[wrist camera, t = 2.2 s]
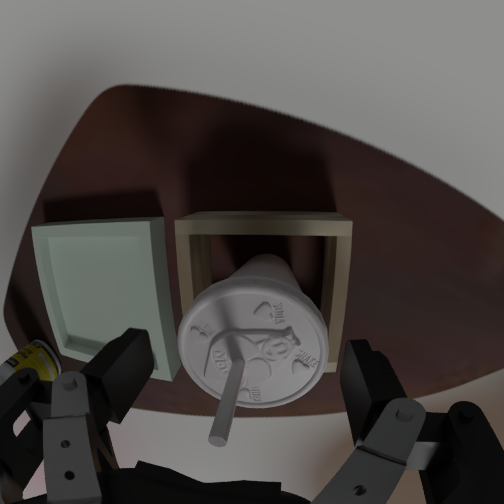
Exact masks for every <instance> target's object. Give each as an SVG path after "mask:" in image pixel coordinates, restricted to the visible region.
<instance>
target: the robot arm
mask: <svg viewBox="0 0 504 504" xmlns="http://www.w3.org/2000/svg"><path fill="white" fill-rule="evenodd" d="M153 370H154V357H153V352H152V347H151V342H150V337H149V333H148V331H147V330H146V329H139V328H132V327H130V328H128V329H127V330H126V331H125V332H124V333H123V334H122V335H121V336H120V337H117V338H115V339H113V340H111V341H109V342H108V343H107V344H106V345H105V346H104V347H103V348H102V350H100V351H99V352H98V353H97V355H95V356H94V357H93V358H92V359H91V360H90V361H89V362H88V363H87V364H86V366H85V367H84V368H83V369H82V370H81V371H80V372H75V371H70V372H65V373H62V374H60V375H59V376H57V377H56V378H55V379H54V381H46V380H41V379H40V377H39V375H38V372H37V371H36V370H35V369H33V368H22V369H19V370H17V371H16V372H14V373H13V374H12V375H11V376H10V377H9V378H8V379H7V380H6V381H5V382H4V383H3V384H2V385H1V386H0V504H386V503H387V501H388V499H389V498H390V496H391V494H392V493H393V491H394V489H395V487H396V486H397V484H398V482H399V480H400V478H401V476H402V474H403V472H404V470H405V469H406V470H418V471H419V474H420V478H421V482H422V486H423V490H424V495H425V499H426V504H504V450H503V448H502V446H501V444H500V442H499V440H498V439H497V437H496V435H495V433H494V431H493V429H492V427H491V426H490V424H489V422H488V420H487V419H486V417H485V415H484V413H483V412H482V410H481V409H480V408H479V407H478V406H477V405H476V404H474V403H472V402H468V401H460V402H457V403H454V404H453V405H452V406H451V407H450V409H449V411H448V413H431V412H426V411H425V409H424V407H423V406H422V405H421V404H420V403H419V402H417V401H415V400H413V399H410V398H407V396H406V394H405V392H404V390H403V387H402V385H401V383H400V381H399V380H398V378H397V376H396V375H395V372H394V370H393V368H392V366H391V364H390V362H389V360H388V358H387V357H386V356H384V355H383V354H382V353H381V352H379V351H372V349H371V347H370V345H369V343H368V341H367V340H366V339H361V340H348V341H347V343H346V347H345V353H344V358H343V363H342V368H341V374H340V384H341V389H342V393H343V397H344V402H345V406H346V410H347V415H348V419H349V423H350V428H351V433H352V438H353V441H354V447H357V448H356V449H355V450H354V451H353V453H352V454H351V455H350V457H349V458H348V459H347V461H346V462H345V463H344V465H343V466H342V467H341V468H340V470H339V471H338V472H337V473H336V475H335V476H334V477H333V478H332V479H331V481H330V482H329V483H328V484H327V485H326V486H325V488H324V489H323V490H322V491H321V492H320V493H319V494H318V496H317V497H316V498H315V499H314V500H313V501H312V502H310V501H309V500H307V499H305V498H303V497H300V496H298V495H295V494H292V493H289V492H285V491H281V482H263V481H247V480H241V481H230V482H215V483H203V482H200V481H197V480H195V479H192V478H190V477H188V476H185V475H183V474H181V473H179V472H176V471H174V470H172V469H170V468H165V467H161V466H157V465H153V464H150V463H146V462H143V461H138V462H137V464H136V466H135V468H121V469H120V468H119V466H118V463H117V461H116V457H115V453H114V450H113V446H112V442H111V438H110V435H109V430H108V428H107V426H106V424H107V423H108V422H109V421H112V422H114V423H118V424H120V423H121V422H122V420H123V418H124V417H125V415H126V414H127V412H128V411H129V409H130V408H131V406H132V404H133V403H134V401H135V400H136V398H137V397H138V395H139V393H140V392H141V390H142V389H143V387H144V386H145V384H146V382H147V381H148V379H149V378H150V376H151V375H152V373H153ZM24 410H26V412H27V414H28V415H29V417H30V419H31V420H30V421H29V422H28V423H27V425H26V426H25V427H24V429H23V430H22V431H21V432H20V433H19V435H18V436H17V437H16V435H15V434H14V432H13V424H14V422H15V421H16V420H17V418H18V417H19V416H20V415H21V414H22V412H23V411H24ZM43 459H44V469H45V470H44V471H45V481H46V489H47V493H46V494H43V495H39V496H36V497H32V498H29V499H25V500H24V499H23V498H22V497H23V491H24V489H25V487H26V486H27V484H28V483H29V481H30V479H31V478H32V476H33V475H34V473H35V471H36V470H37V468H38V467H39V465H40V464H41V462H42V460H43Z"/></svg>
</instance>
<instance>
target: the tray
mask: <svg viewBox="0 0 504 504" xmlns="http://www.w3.org/2000/svg"><path fill="white" fill-rule="evenodd" d="M31 228H32V236H33V244H34V251H35V257H36V263H37V268H38V273H39V278H40V283H41V288H42V292H43V296H44V300H45V304H46V308H47V312H48V315H49V319H50V322H51V326H52V329H53V332H54V336H55V339H56V342H57V345H58V348H59V350H60V353H61V354H62V355H65V356H68V357H71V358H75V359H78V360H81V361H85V362H89V361H90V360H91V359H92V358H93V357H94V356H95V355H97V353H98V352H99V351H100V350H102V348H103V347H104V346H105V345H106V344H107V343H108V342H109V341H111V340H113V339H115V338H117V337H120V336H121V335H122V334H123V333H124V332H125V331H126V330H127V329H128V328H130V327H132V328H139V329H146V330H147V331H148V333H149V337H150V342H151V347H152V352H153V357H154V370H153V373H152V375H151V376H150V377H151V378H156V379H161V380H167V381H172V380H173V379H174V377H175V375H176V373H177V371H178V370H179V368H180V366H181V363H180V357H179V351H178V345H177V338H176V332H175V325H174V317H173V310H172V302H171V294H170V285H169V275H168V265H167V254H166V241H165V227H164V217H139V218H116V219H96V220H79V221H64V222H50V223H45V224H41V225H37V226H33V227H31Z"/></svg>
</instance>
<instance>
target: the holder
mask: <svg viewBox="0 0 504 504" xmlns="http://www.w3.org/2000/svg"><path fill="white" fill-rule="evenodd" d="M210 234H231V235H312V236H325V247H324V266H323V282H322V295H321V307H320V312H321V314H322V317H323V319H324V322H325V325H326V327H327V335H328V347H329V354H328V361H327V364H326V367H325V370H324V372H336V366H337V361H338V355H339V349H340V342H341V336H342V329H343V322H344V314H345V306H346V298H347V288H348V278H349V267H350V255H351V240H352V221H351V220H349V219H348V218H346V217H344V216H342V215H341V214H339V213H337V212H300V211H206V212H196V213H193V214H190V215H188V216H185V217H182V218H179V219H177V220H175V236H176V250H177V263H178V275H179V285H180V295H181V304H182V313H183V317H184V316H185V314H186V312H187V310H188V308H189V307H190V305H191V304H192V302H193V301H194V300H195V298H196V297H197V296H198V295H199V294H200V293H201V292H203V291H204V290H205V289H207V288H208V287H209V286H211V285H212V284H213V283H212V265H211V244H210Z"/></svg>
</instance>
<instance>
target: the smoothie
mask: <svg viewBox="0 0 504 504" xmlns="http://www.w3.org/2000/svg"><path fill="white" fill-rule="evenodd" d="M178 351H179V355H180V358H181V361H182V363H183V365H184V367H185V369H186V371H187V372H188V374H189V375H190V377H191V378H192V379H193V380H194V381H195V382H196V383H197V384H198V385H199V386H200V387H201V388H202V389H203V390H205V391H206V392H208V393H209V394H210V395H212V396H214V397H216V398H218V399H220V403H219V406H218V410H217V413H216V416H215V419H214V422H213V426H212V429H211V432H210V435H209V438H208V441H209V443H210V444H212V445H214V446H217V447H223V446H225V445H226V444H227V440H228V436H229V432H230V428H231V424H232V420H233V416H234V412H235V407H236V405H237V406H242V407H248V408H268V407H275V406H279V405H283V404H286V403H288V402H291V401H293V400H295V399H297V398H299V397H301V396H302V395H304V394H305V393H306V392H308V391H309V390H310V389H311V388H312V387H313V386H314V385H315V384H316V383H317V382H318V380H319V379H320V377H321V376H322V374H323V372H324V370H325V367H326V364H327V361H328V354H329V347H328V335H327V327H326V325H325V322H324V319H323V317H322V314H321V312H320V311H319V310H318V308H317V307H316V306H315V304H314V303H313V302H312V300H311V299H310V298H309V297H308V296H306V295H305V294H304V293H302V291H301V289H300V287H299V285H298V283H297V281H296V279H295V277H294V275H293V273H292V271H291V269H290V267H289V265H288V264H287V263H286V262H285V261H284V260H283V259H282V258H280V257H278V256H276V255H273V254H260V255H257V256H254V257H253V258H251V259H250V260H249V261H247V262H246V263H245V264H244V265H243V266H242V267H241V268H240V269H238V270H237V271H236V272H235V273H234V274H233V275H232V276H230V277H229V278H228V279H225V280H222V281H220V282H217V283H214V284H212V285H211V286H209V287H208V288H207V289H205V290H204V291H203V292H201V293H200V294H199V295H198V296H197V297H196V298H195V300H194V301H193V302H192V304H191V305H190V307H189V308H188V310H187V312H186V314H185V316H184V317H183V319H182V321H181V324H180V327H179V331H178Z"/></svg>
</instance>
